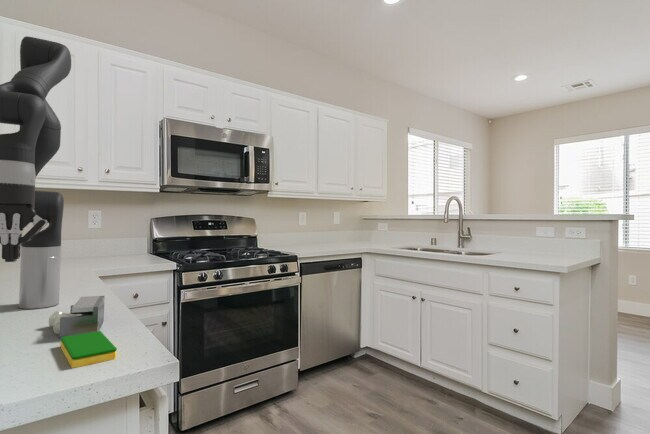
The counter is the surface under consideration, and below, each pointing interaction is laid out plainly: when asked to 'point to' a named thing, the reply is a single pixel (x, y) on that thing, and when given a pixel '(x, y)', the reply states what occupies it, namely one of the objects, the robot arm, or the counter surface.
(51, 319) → the pipe fitting
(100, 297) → the bracket
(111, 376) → the counter surface
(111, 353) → the dish sponge
